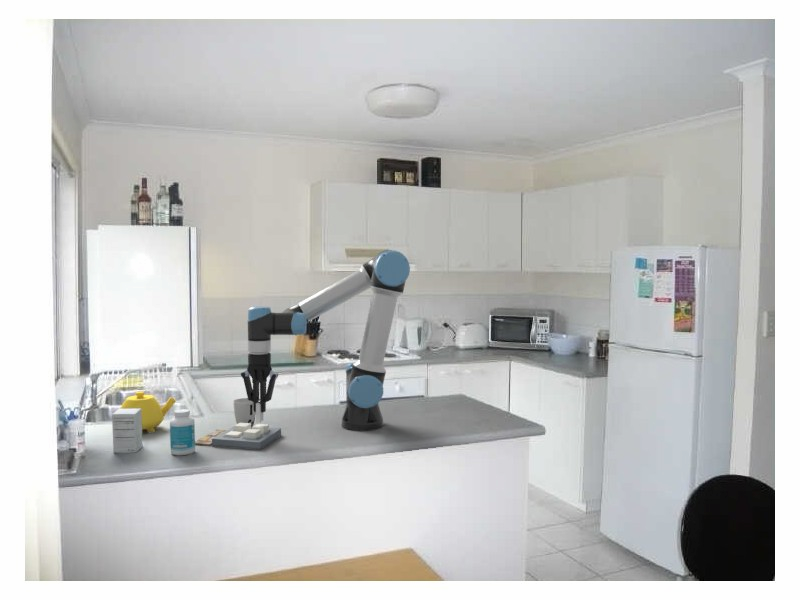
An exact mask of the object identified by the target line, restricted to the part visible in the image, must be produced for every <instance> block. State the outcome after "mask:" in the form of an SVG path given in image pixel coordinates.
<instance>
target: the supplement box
mask: <svg viewBox="0 0 800 600" xmlns="http://www.w3.org/2000/svg"><path fill="white" fill-rule="evenodd" d="M111 417H112V418H111V419H112V421H111V422H112V423H111V425H112V447H113V450H112V451H113V453H114V454H117V453H118V454H119V453H121V454H122V453H123V454H125V453H127V454H128V453H130V454H131V453H137V452H139V450H140V449H141V448H142V447H143V430H142V416H141V409H139V408H134V409H120V408H118V409H117V410H115V412H113V413H112V414H111Z"/></svg>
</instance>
